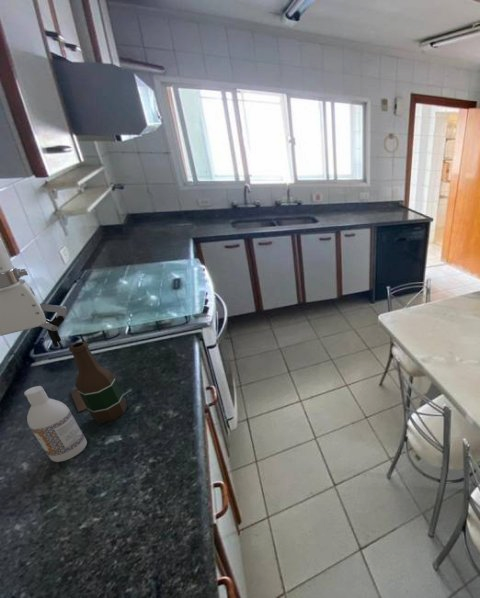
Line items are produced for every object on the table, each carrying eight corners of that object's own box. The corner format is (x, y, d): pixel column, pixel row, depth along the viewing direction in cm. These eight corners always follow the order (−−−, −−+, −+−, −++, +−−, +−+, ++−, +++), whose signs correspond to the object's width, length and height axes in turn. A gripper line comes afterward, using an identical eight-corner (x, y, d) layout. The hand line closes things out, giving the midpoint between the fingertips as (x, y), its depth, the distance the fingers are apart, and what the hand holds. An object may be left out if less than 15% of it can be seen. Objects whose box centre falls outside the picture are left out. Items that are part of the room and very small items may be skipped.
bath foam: (46, 454, 82) (6, 393, 73) (81, 435, 88) (48, 376, 79) (56, 467, 79) (15, 405, 70) (92, 447, 84) (58, 387, 75)
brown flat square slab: (78, 412, 95) (78, 411, 94) (70, 392, 101) (70, 391, 101) (129, 392, 103) (129, 391, 103) (119, 375, 110) (118, 374, 110)
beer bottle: (109, 403, 98) (76, 335, 88) (134, 404, 98) (105, 337, 88) (86, 423, 91) (47, 352, 81) (113, 424, 91) (78, 354, 81)
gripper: (48, 266, 72) (75, 332, 79) (-85, 285, 60) (-39, 362, 67) (54, 275, 68) (82, 344, 75) (-88, 298, 56) (-38, 379, 63)
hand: (25, 353), depth 71 cm, fingers open, 9 cm apart
